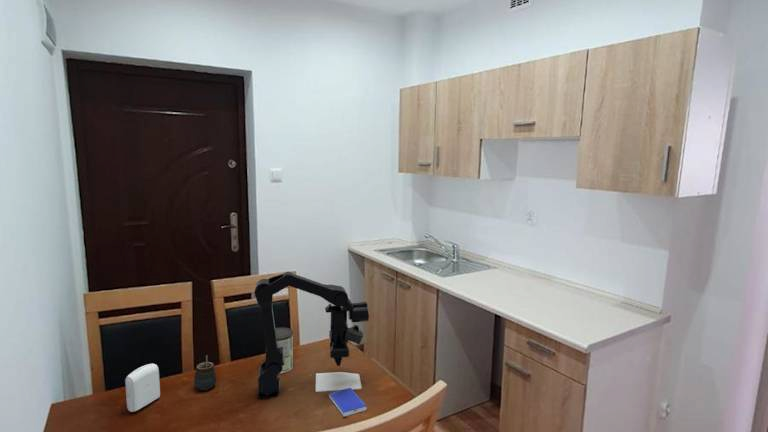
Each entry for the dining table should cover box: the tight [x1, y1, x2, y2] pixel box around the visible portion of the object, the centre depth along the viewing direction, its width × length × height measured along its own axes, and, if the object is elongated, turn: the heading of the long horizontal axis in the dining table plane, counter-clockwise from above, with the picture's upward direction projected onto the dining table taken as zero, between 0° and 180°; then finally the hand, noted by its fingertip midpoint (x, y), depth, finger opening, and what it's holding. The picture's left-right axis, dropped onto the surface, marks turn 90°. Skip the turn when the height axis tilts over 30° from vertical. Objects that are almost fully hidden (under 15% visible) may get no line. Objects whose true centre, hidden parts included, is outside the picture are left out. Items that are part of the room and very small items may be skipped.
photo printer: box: [124, 363, 161, 413], centre depth 135 cm, size 10×4×12 cm, turn 158°
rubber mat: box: [315, 371, 363, 393], centre depth 151 cm, size 16×12×1 cm
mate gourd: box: [193, 354, 217, 391], centre depth 146 cm, size 7×8×10 cm
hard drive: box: [328, 388, 368, 417], centre depth 137 cm, size 2×8×12 cm
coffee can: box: [275, 327, 294, 374], centre depth 160 cm, size 10×10×14 cm
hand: (338, 365), depth 148 cm, fingers closed
